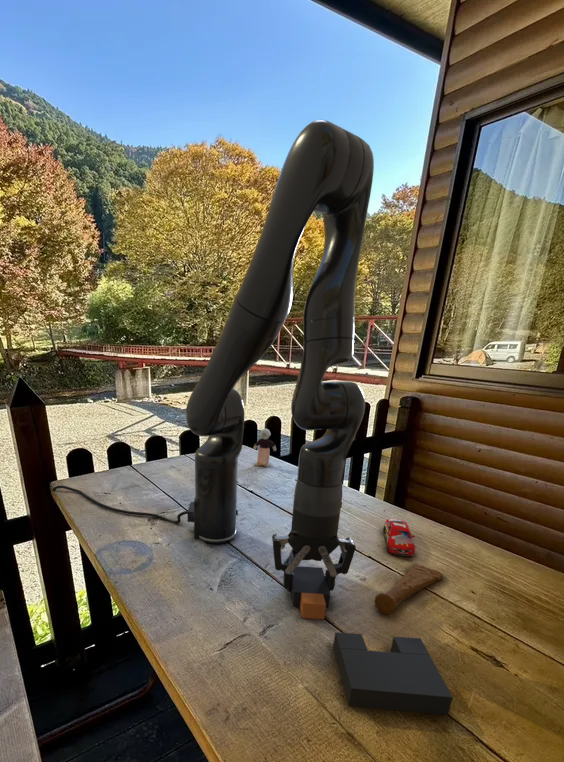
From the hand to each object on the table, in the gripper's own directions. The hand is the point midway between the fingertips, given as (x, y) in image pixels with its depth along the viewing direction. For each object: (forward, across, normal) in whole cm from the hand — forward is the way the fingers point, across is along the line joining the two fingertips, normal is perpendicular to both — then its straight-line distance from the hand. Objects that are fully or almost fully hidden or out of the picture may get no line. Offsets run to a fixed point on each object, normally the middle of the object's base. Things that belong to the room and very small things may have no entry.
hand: (307, 589), depth 74 cm
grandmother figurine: (+1, +5, -69) cm, 69 cm away
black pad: (+1, -8, +18) cm, 20 cm away
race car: (+1, -22, -20) cm, 30 cm away
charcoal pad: (+1, 0, +1) cm, 2 cm away
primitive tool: (+1, -18, -3) cm, 18 cm away
